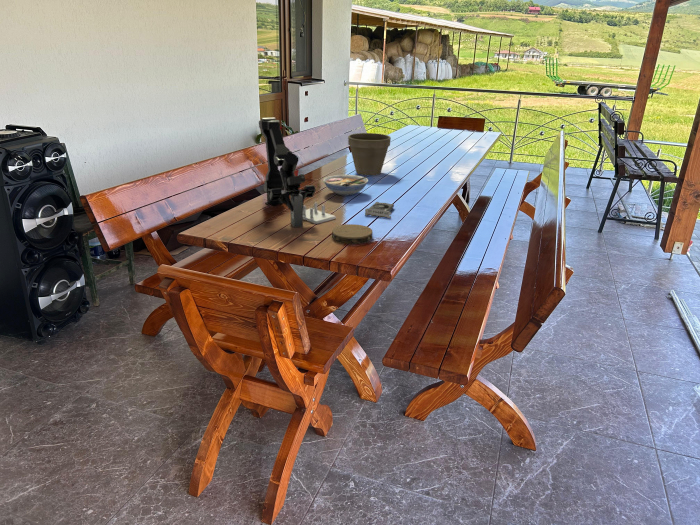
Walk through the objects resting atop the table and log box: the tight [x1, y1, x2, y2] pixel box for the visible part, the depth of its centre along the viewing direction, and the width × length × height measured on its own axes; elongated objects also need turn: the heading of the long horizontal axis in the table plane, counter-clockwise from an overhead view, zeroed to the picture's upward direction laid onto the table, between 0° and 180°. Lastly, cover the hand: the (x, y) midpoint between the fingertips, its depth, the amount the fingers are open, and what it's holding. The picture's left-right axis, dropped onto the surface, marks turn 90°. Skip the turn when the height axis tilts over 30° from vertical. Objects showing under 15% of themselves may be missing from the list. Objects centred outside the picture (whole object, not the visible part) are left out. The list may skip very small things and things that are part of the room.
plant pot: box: [347, 132, 392, 176], centre depth 307 cm, size 25×25×22 cm
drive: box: [289, 193, 304, 228], centre depth 216 cm, size 5×4×13 cm
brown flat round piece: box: [331, 223, 373, 245], centre depth 205 cm, size 16×16×3 cm
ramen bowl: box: [323, 174, 370, 197], centre depth 264 cm, size 25×23×8 cm
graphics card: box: [364, 201, 395, 219], centre depth 237 cm, size 17×4×12 cm
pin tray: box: [303, 202, 336, 225], centre depth 228 cm, size 16×11×5 cm
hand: (297, 210), depth 214 cm, fingers closed on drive, 4 cm apart
